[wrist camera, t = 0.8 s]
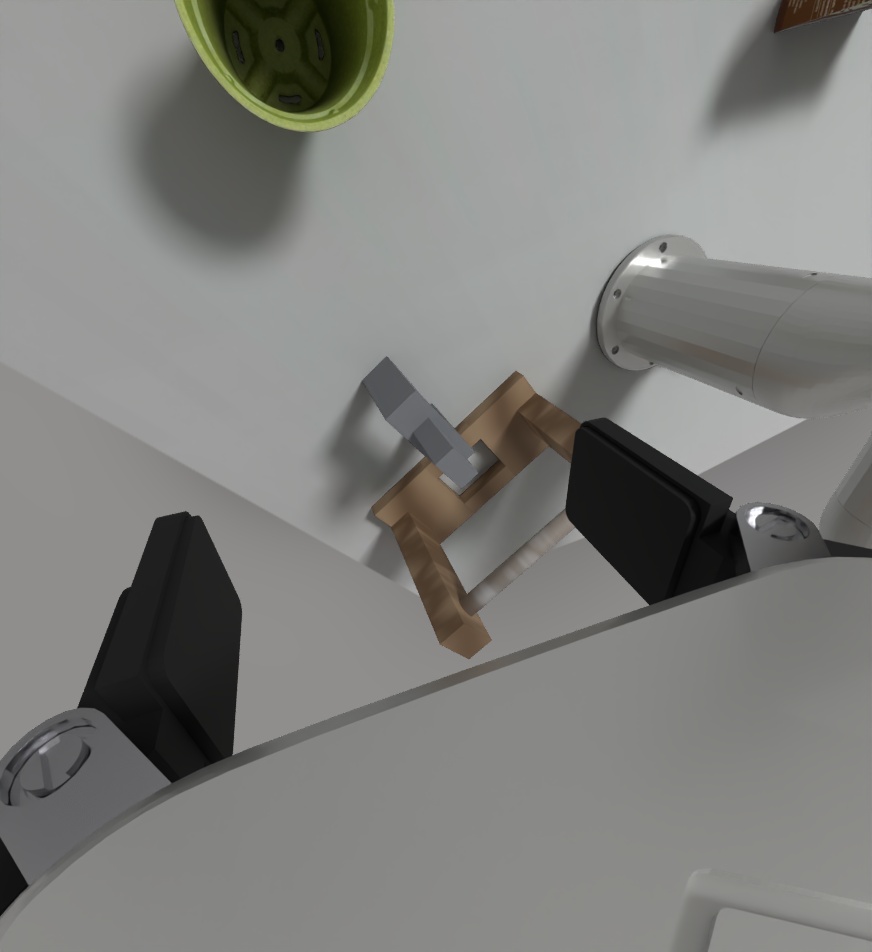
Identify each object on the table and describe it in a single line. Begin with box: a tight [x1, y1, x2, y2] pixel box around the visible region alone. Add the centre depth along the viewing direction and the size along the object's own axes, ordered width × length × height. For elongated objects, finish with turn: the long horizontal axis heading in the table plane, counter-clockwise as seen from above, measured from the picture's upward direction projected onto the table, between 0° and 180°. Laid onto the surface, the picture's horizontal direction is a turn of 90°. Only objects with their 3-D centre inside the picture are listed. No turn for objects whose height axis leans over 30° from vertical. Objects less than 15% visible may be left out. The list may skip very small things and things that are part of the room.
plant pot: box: [174, 0, 394, 132], centre depth 22 cm, size 9×9×9 cm
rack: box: [372, 371, 581, 659], centre depth 39 cm, size 20×9×16 cm, turn 130°
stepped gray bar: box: [362, 356, 478, 489], centre depth 34 cm, size 8×3×14 cm, turn 40°
